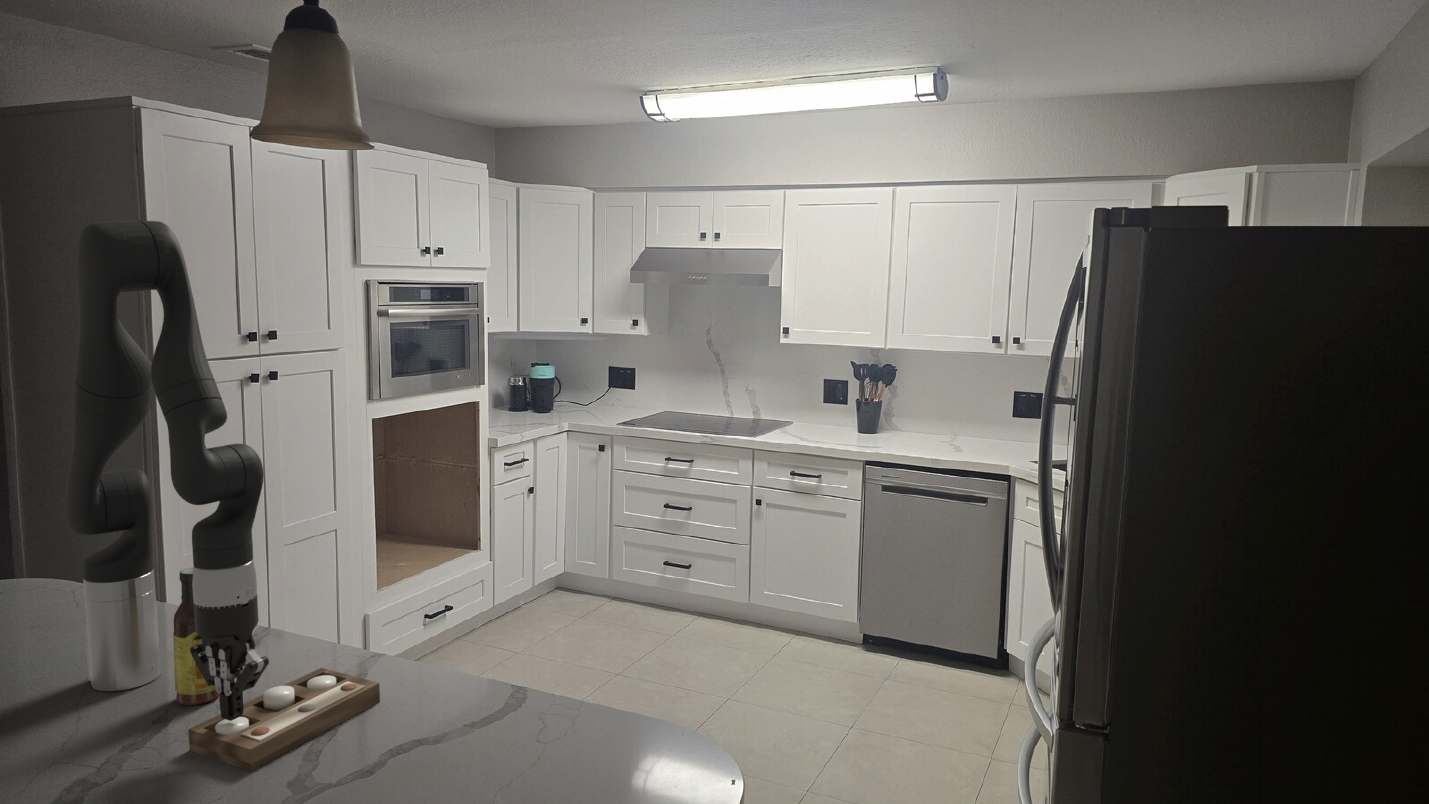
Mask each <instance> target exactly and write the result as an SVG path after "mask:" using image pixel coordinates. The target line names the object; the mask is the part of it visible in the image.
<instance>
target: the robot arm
mask: <svg viewBox="0 0 1429 804" xmlns="http://www.w3.org/2000/svg"><path fill="white" fill-rule="evenodd" d="M76 252H77V254H76V255H77V256H76V257H77V258H76V259H77V260H76V262H77V266H76V267H77V285H78V286H77V287H78V288H77V290H78V291H77V292H78V308H79V310H78V311H79V312H78V313H79V315H78V317H79V327H78V328H79V329H78V348H77V361H76V367H75V377H74V393H73V394H74V395H73V397H74V398H73V435H72V436H73V437H72V448H71V454H70V461H69V466H68V473H67V480H66V487H65V492H64V516H65V520H66V523H67V525H68V527H69V529H70V531H72V532H73V533H74V534H75V535H78V536H95V535H101V534H109V533H114V532H121V531H122V533H121V535H120V536H119V537H118V538H117V539H116V540H115V541H113V542H112V543H111V544H109V545H107V546H106V547H103V548H102V549H100V550H98V551H95V552H94V553H92V554H90V555H88V556H87V557H86V558H85V559H84V560H83V562H82V566H81V571H82V572H81V573H82V581H83V593H84V596H83V597H84V605H85V618H86V619H85V620H86V621H85V623H84V632H85V633H84V634H85V637H84V638H85V647H86V660H87V673H88V681H90V684H91V687H92V688H93V690H95V691H101V692H115V691H117V692H118V691H125V690H130V689H133V688H137V687H140V686H143V685H147V684H148V683H151V682H153V681H154V680H156V679H157V678H158V677H159V676H160V675H161V671H162V670H161V659H160V657H161V656H160V655H161V654H160V641H159V628H158V627H159V626H158V614H157V613H158V612H157V611H158V610H157V599H156V597H157V595H156V586H155V585H156V584H155V583H156V582H155V569H154V540H153V539H154V538H153V493H152V487H151V482H150V480H149V478H148V476H147V474H146V473H145V472H144V471H143V470H141V469H138V468H134V469H133V468H132V469H121V470H120V469H119V470H114V471H105V472H103V471H104V469H105V466H106V465H107V463H108V461H109V460H110V458H111V457H112V456H113V455H114V453H116V452H117V450H118V449H119V448H121V446H123V444H124V443H125V442H126V441H127V440H128V439H130V437H131V436H132V435H133V434H134V433H135V432H136V431H137V429H138V428H139V427H140V426H141V425H142V424H143V422H144V421H145V420H146V418H147V416H148V414H149V411H150V409H151V405H152V403H151V402H152V392H153V391H154V394H155V396H156V398H157V399H156V400H157V401H158V404H159V407H160V410H161V412H162V416H163V418H164V421H165V423H166V426H167V433H168V445H169V457H170V458H169V459H170V464H169V466H170V467H169V468H170V476H171V482H172V483H171V484H172V486H173V488H174V489H175V492H176V493H177V494H178V496H179V497H180V498H181V499H182V500H183V501H185V502H186V503H188V504H190V505H193V506H204V505H207V504H212V503H216V502H217V503H218V502H219V503H218V506H217V508H216V510H215V511H214V512H213V513H211V514H210V515H208V516H206V517H204V518H202V519H201V520H199V521H198V522H196V523H195V524H194V525H193V527H192V530H191V546H192V563H193V566H192V567H193V580H192V587H193V603H194V620H195V631H196V633H197V634H198V635H200V636H202V637H201V640H202V642H201V643H200V644H198V645H196V646H193V647H191V648H190V653H191V655H192V657H193V659H194V660H195V662H196V664H197V666H198V668H199V670H200V672H201V674H202V676H203V677H204V679H205V681H206V683H207V685H208V686H212V685H214V686H215V689H216V692H217V693H219V696H218V699H219V700H218V701H219V711H220V714H221V718H223V719H226V720H229V721H232V720H234V719H236V718H238V717H240V716H241V715H242V714H243V710H244V708H243V704H244V692H245V691H247V690H249V689H252V688H254V687H255V686H256V685H257V683H258V681H259V679H260V678H261V677H262V675H263V673H264V672H265V670H266V668H268V665H269V663H270V660H269V658H268V657H267V656H266V655H265V656H262V657H260V656H259V654H258V653H257V652H256V651H255V649H256V642H255V639H254V636H253V631H254V630H255V628H256V627H257V626H258V624H259V605H258V604H259V603H258V583H257V582H258V581H257V572H256V567H255V561H254V549H253V547H254V545H253V544H254V543H253V527H254V523H255V519H256V514H257V511H258V506H259V503H260V502H259V501H260V498H261V493H262V489H263V484H264V466H263V463H262V460H261V458H260V456H259V454H258V453H257V452H256V450H255V449H254V448H252V447H251V446H250V445H248V444H245V443H232V444H225V445H220V446H219V445H218V446H213V447H206V442H205V437H206V434H209V433H213V432H215V431H216V430H219V429H220V428H221V427H223V426H224V425H225V424H226V423H227V420H228V413H227V409H226V407H225V403H224V401H223V398H222V396H221V393H220V391H219V388H218V385H217V383H216V380H215V377H214V375H213V373H212V370H211V367H210V364H209V361H208V359H207V356H206V352H205V348H204V343H203V339H202V336H201V330H200V324H199V320H198V313H197V310H196V305H195V300H194V295H193V291H192V286H191V282H190V276H189V273H188V269H187V265H186V260H185V257H184V254H183V251H182V247H181V244H180V242H179V239H178V237H177V235H176V234H175V233H174V231H173V229H172V228H171V227H170V226H169V225H168V224H166V223H164V222H162V221H158V220H157V221H156V220H122V221H121V220H115V221H113V220H112V221H95V222H90V223H88V224H86V225H85V226H83V228H82V230H81V231H80V234H79V235H78V241H77V251H76ZM141 291H156V292H157V293H158V295H159V297H160V302H161V304H162V309H163V310H162V311H163V319H162V320H163V321H162V326H161V331H160V334H159V338H158V341H157V344H156V347H155V350H154V353H153V358H152V361H151V362H150V360H149V358H148V356H147V355H146V353H145V352H144V351H143V350H142V349H141V347H140V346H139V345H138V343H137V342H136V341H135V340H134V339H133V337H132V336H131V335H130V334H129V333H128V331H127V329H125V327H124V325H123V324H122V322H121V321H120V318H119V315H118V307H117V306H118V305H117V304H118V303H117V302H118V297H119V294H121V293H129V292H131V293H132V292H141ZM209 668H210V670H209Z"/></svg>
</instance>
